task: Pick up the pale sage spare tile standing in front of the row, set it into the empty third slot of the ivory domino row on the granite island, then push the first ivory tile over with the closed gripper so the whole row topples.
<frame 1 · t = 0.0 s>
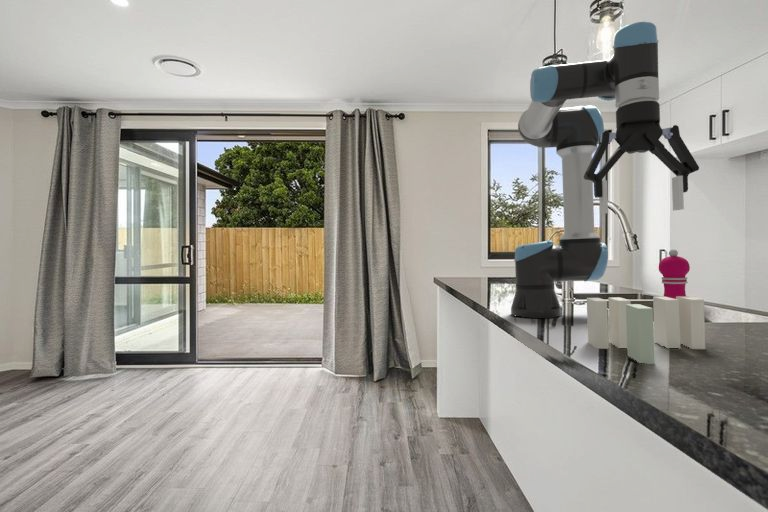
hand: (640, 211, 86), 28 cm above the worktop, fingers open, 13 cm apart
tile 5: (690, 345, 89), on the worktop
spare tile: (640, 359, 80), on the worktop
tile 4: (667, 345, 90), on the worktop
tile 2: (620, 345, 92), on the worktop
tile 1: (598, 345, 93), on the worktop
pepper mill: (676, 336, 100), on the worktop
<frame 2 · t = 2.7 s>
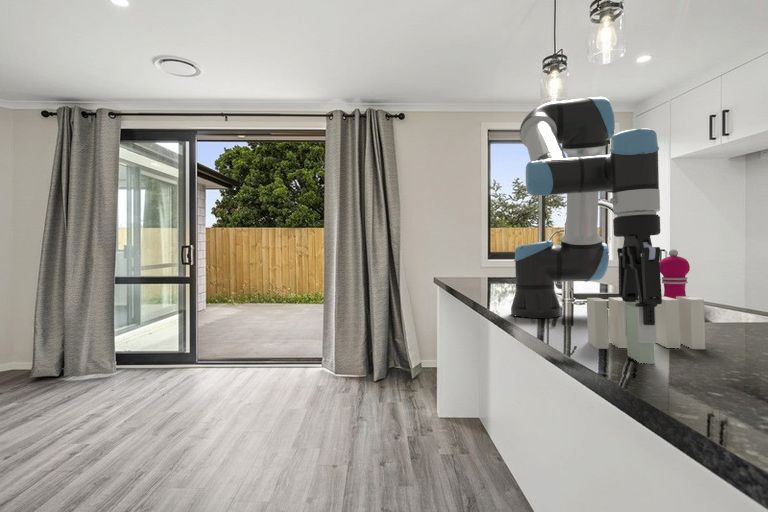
hand: (639, 338, 80), 4 cm above the worktop, fingers closed on spare tile, 6 cm apart
spare tile: (640, 359, 80), on the worktop, touching gripper
everything else where it was.
when the fingers open (4 cm above the worktop, at t = 7.4 s): spare tile stays where it is, on the worktop.
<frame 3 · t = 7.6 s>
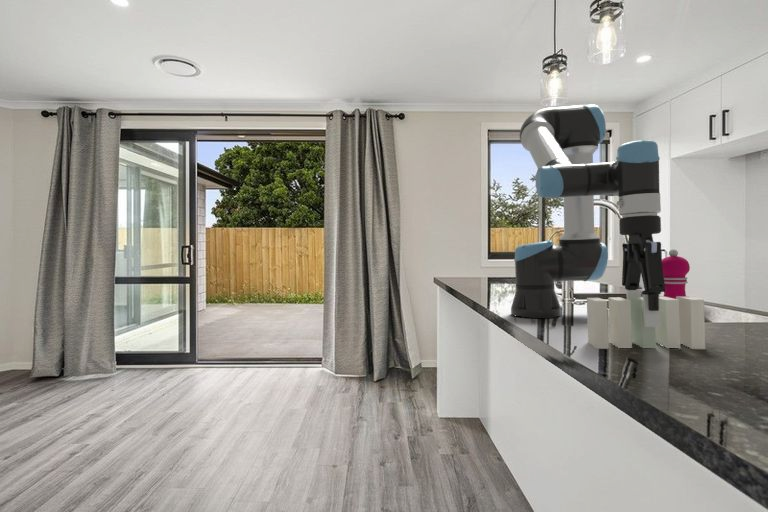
hand: (642, 322, 91), 5 cm above the worktop, fingers open, 8 cm apart
spare tile: (643, 345, 91), on the worktop
everything else where it was.
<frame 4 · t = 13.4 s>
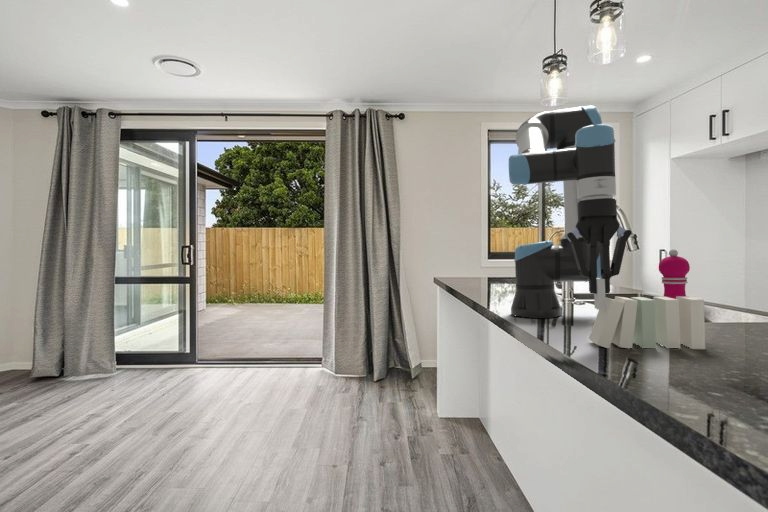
hand: (600, 308, 92), 8 cm above the worktop, fingers closed
tile 2: (620, 344, 92), on the worktop, tilted 8°
tile 1: (598, 343, 92), on the worktop, tilted 19°
everything else where it was.
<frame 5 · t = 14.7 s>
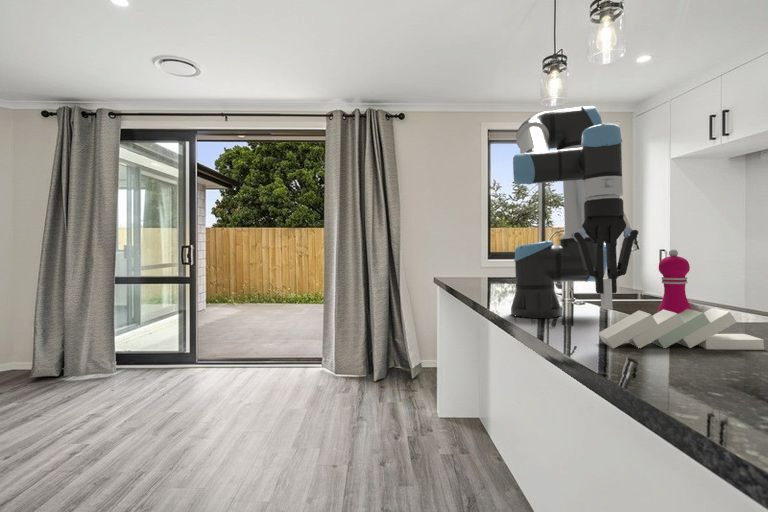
hand: (606, 308, 92), 8 cm above the worktop, fingers closed
tile 5: (698, 342, 89), point 1 cm above the worktop, tilted 90°
spare tile: (654, 340, 90), point 1 cm above the worktop, tilted 58°, touching tile 2, tile 4
tile 4: (679, 340, 90), point 1 cm above the worktop, tilted 58°, touching spare tile
tile 2: (629, 340, 91), point 1 cm above the worktop, tilted 59°, touching spare tile, tile 1
tile 1: (605, 340, 92), point 1 cm above the worktop, tilted 60°, touching tile 2
everything else where it was.
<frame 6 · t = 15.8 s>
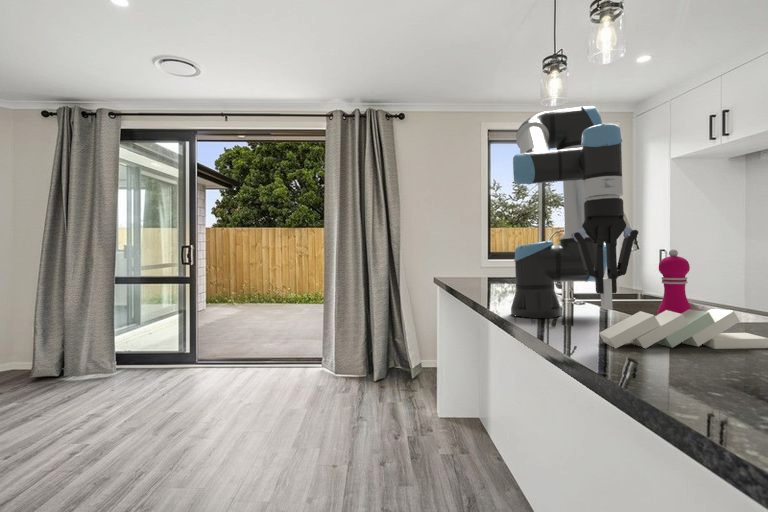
hand: (606, 308, 92), 8 cm above the worktop, fingers closed
tile 5: (705, 342, 89), point 1 cm above the worktop, tilted 90°, touching tile 4
spare tile: (660, 340, 90), point 1 cm above the worktop, tilted 61°, touching tile 2, tile 4
tile 4: (684, 339, 90), point 1 cm above the worktop, tilted 61°, touching spare tile, tile 5
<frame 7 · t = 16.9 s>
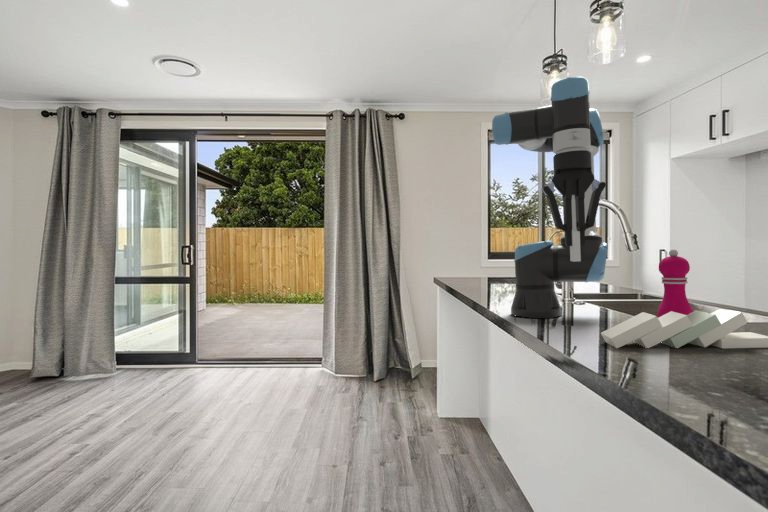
hand: (575, 261, 94), 18 cm above the worktop, fingers closed
tile 5: (711, 341, 89), point 1 cm above the worktop, tilted 90°
spare tile: (664, 340, 90), point 1 cm above the worktop, tilted 62°, touching tile 2, tile 4
tile 4: (691, 339, 90), point 1 cm above the worktop, tilted 62°, touching spare tile
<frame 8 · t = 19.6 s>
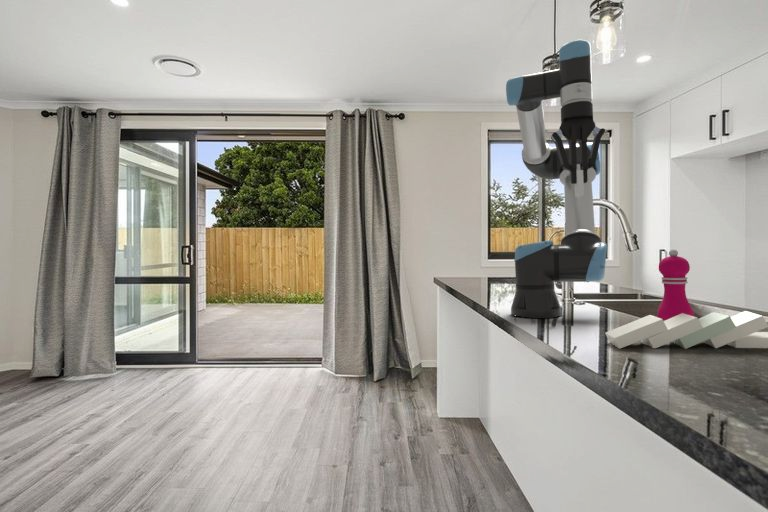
hand: (579, 196, 111), 34 cm above the worktop, fingers closed
tile 5: (727, 340, 89), point 1 cm above the worktop, tilted 90°
spare tile: (675, 340, 90), point 1 cm above the worktop, tilted 64°, touching tile 2, tile 4
tile 4: (705, 339, 89), point 1 cm above the worktop, tilted 63°, touching spare tile
tile 2: (645, 340, 91), point 1 cm above the worktop, tilted 65°, touching spare tile, tile 1
at the end: tile 5 tilted 90°; spare tile tilted 63°; spare tile inside the target area (4.5 cm from its centre), point 1.0 cm above the worktop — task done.
